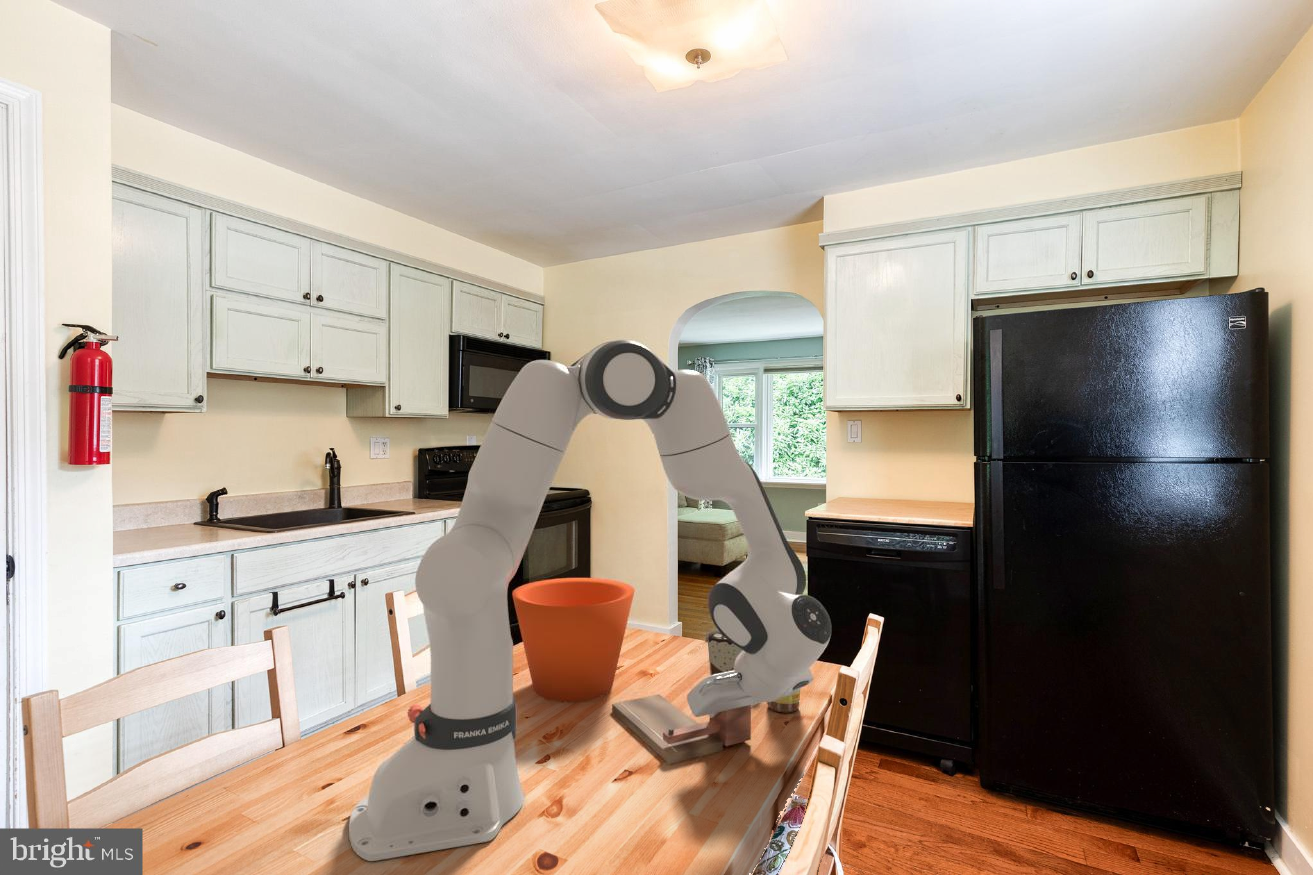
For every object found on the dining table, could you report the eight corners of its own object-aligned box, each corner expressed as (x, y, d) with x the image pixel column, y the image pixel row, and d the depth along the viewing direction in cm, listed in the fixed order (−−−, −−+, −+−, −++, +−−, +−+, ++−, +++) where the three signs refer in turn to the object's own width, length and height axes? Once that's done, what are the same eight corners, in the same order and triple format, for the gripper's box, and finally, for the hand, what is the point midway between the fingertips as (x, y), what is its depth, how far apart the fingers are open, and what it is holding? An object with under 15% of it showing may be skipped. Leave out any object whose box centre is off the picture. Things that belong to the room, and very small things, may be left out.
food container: (770, 682, 136) (770, 635, 136) (758, 692, 130) (758, 642, 130) (717, 671, 142) (718, 625, 142) (704, 679, 137) (705, 632, 137)
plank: (669, 764, 101) (669, 754, 101) (612, 711, 120) (612, 703, 120) (722, 750, 106) (722, 740, 106) (659, 701, 125) (659, 693, 125)
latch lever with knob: (673, 760, 101) (673, 704, 101) (658, 746, 105) (658, 693, 105) (750, 739, 108) (751, 687, 108) (733, 727, 112) (733, 677, 112)
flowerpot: (602, 720, 117) (603, 611, 117) (486, 700, 125) (487, 599, 125) (651, 674, 140) (651, 583, 140) (550, 659, 149) (550, 574, 149)
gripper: (716, 701, 94) (682, 740, 103) (822, 678, 104) (782, 715, 112) (700, 662, 98) (668, 702, 107) (803, 642, 108) (767, 681, 116)
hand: (727, 709), depth 110 cm, fingers closed on latch lever with knob, 5 cm apart
